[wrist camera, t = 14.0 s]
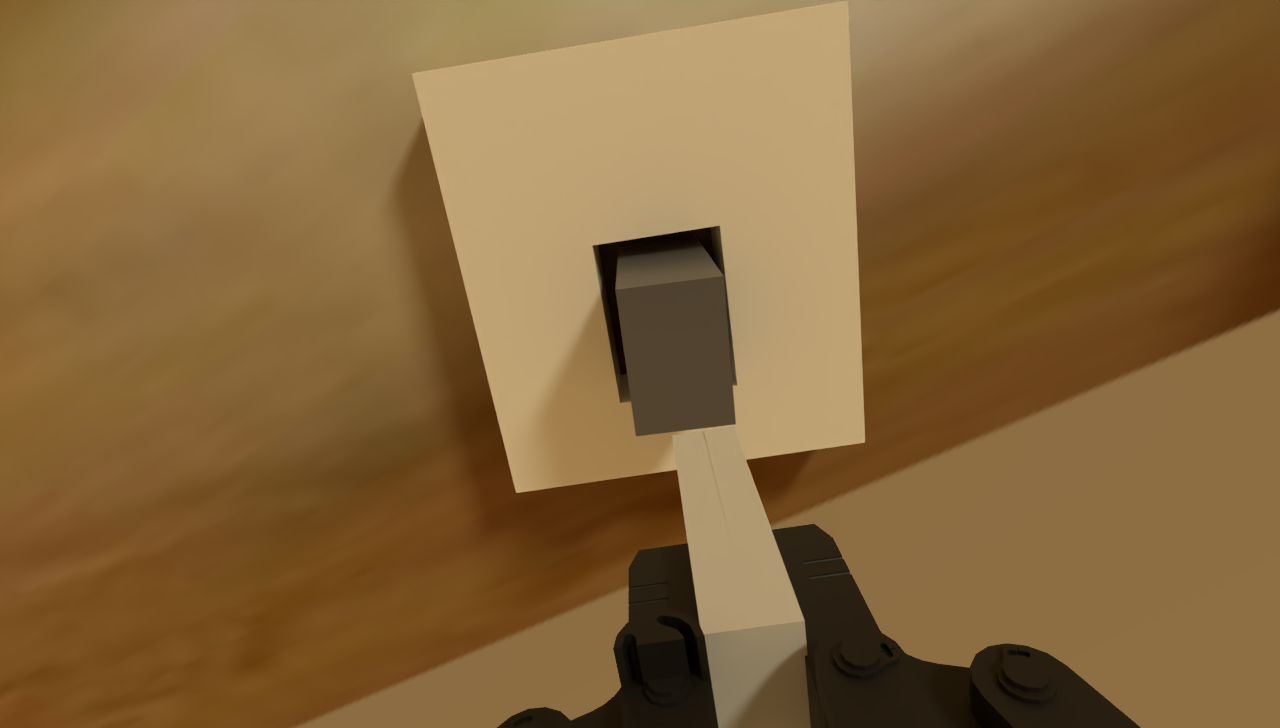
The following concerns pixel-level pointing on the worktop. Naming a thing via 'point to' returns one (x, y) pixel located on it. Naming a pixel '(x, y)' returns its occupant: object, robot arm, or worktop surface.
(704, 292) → the plug
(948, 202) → the worktop surface
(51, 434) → the worktop surface
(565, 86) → the socket plate
